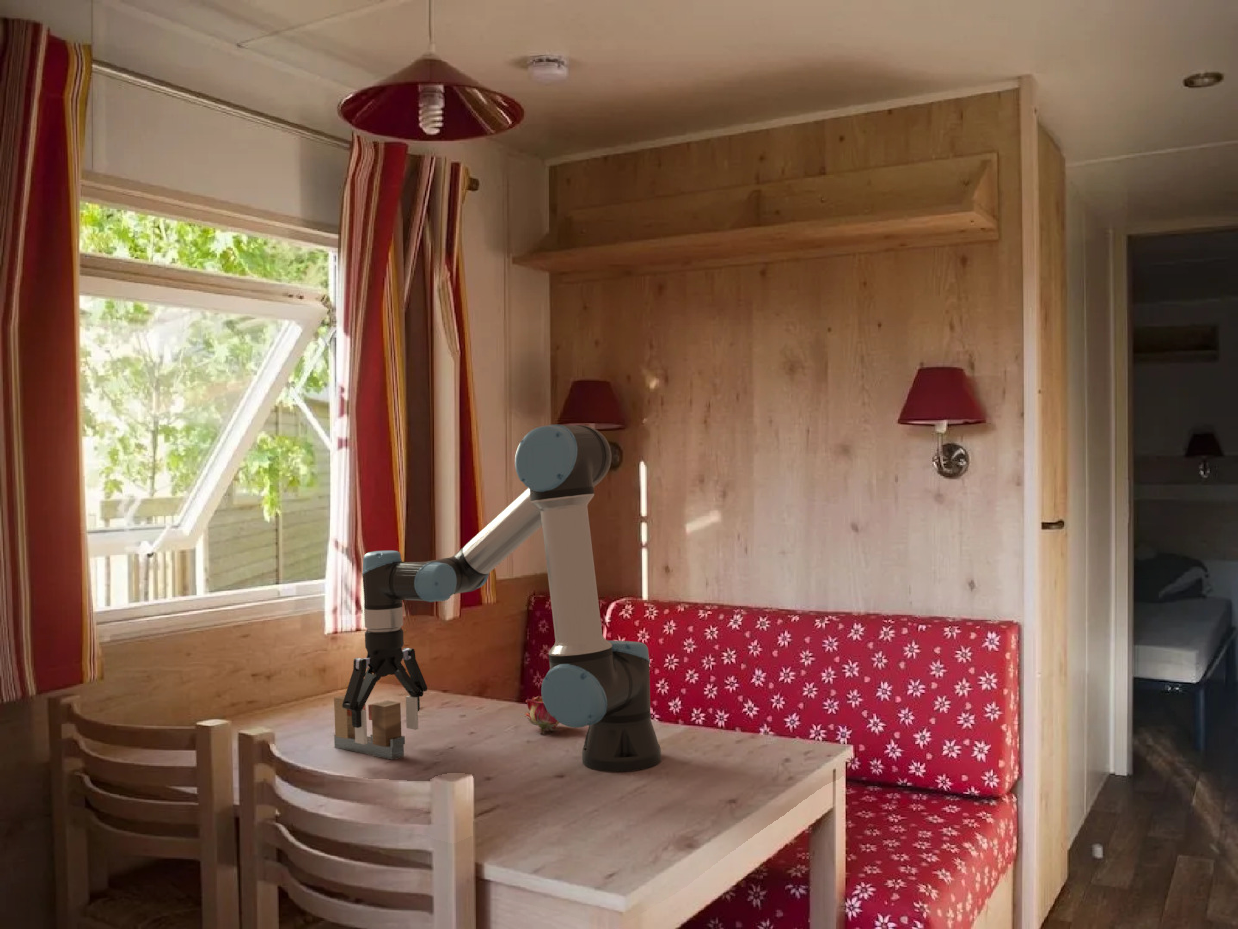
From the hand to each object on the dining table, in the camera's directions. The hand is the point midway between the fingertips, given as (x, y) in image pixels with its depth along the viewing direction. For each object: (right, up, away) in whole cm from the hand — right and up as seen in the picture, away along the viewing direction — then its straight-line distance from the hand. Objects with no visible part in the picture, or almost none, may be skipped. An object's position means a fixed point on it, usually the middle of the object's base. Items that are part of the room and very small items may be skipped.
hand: (387, 736), depth 221 cm
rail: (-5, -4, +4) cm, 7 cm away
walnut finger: (0, -2, 0) cm, 2 cm away
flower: (+31, -3, +16) cm, 35 cm away
